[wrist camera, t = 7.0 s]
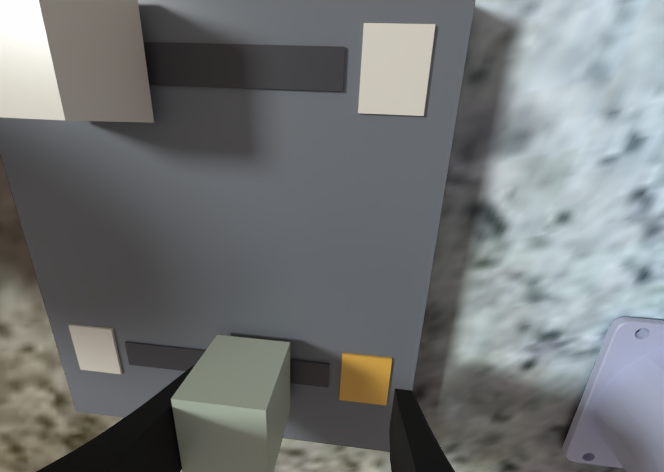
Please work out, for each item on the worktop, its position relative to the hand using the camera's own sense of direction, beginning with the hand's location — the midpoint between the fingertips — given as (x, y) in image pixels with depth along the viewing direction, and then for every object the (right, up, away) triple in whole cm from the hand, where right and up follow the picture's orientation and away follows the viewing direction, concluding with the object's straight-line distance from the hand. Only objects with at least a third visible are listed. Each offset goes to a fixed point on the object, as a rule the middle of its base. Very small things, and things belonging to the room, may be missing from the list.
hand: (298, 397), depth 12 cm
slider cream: (-6, +12, -2) cm, 13 cm away
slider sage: (-2, 0, +1) cm, 2 cm away
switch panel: (-3, +6, +2) cm, 7 cm away
